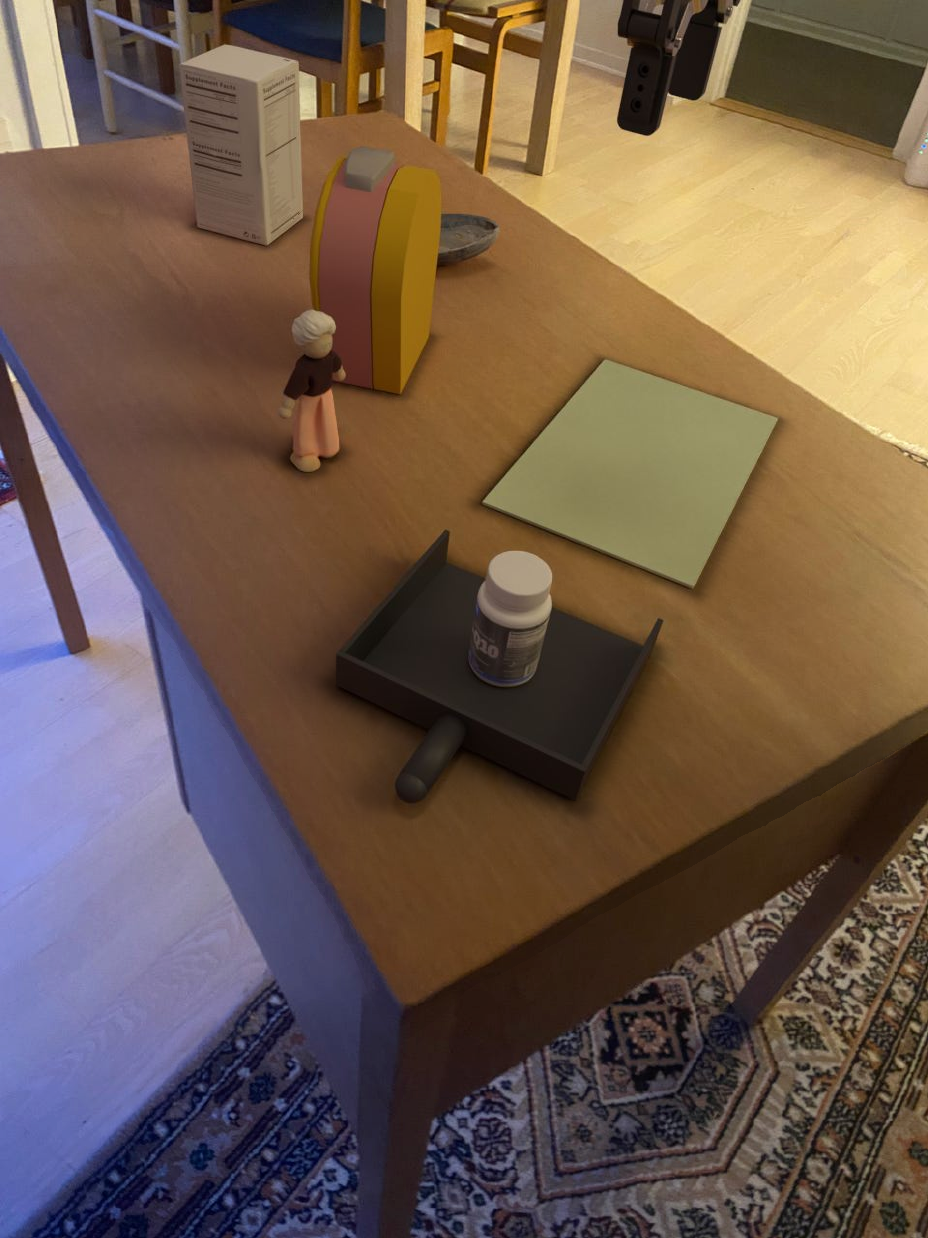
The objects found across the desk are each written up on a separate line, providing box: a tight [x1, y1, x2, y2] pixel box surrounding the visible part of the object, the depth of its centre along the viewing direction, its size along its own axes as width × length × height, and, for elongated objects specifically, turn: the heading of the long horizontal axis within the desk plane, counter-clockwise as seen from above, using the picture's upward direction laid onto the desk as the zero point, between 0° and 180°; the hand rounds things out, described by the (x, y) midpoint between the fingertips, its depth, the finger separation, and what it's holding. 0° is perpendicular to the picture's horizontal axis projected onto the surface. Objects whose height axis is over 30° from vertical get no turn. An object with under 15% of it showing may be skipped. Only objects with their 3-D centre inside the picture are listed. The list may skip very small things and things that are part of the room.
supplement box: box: [178, 44, 304, 247], centre depth 99 cm, size 10×9×17 cm
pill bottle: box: [468, 550, 553, 687], centre depth 57 cm, size 5×5×8 cm
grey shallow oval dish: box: [437, 213, 502, 266], centre depth 102 cm, size 15×12×5 cm
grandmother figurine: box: [277, 309, 346, 473], centre depth 71 cm, size 8×4×13 cm, turn 160°
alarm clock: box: [308, 146, 443, 395], centre depth 81 cm, size 15×8×18 cm, turn 168°
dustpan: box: [335, 529, 665, 805], centre depth 57 cm, size 20×17×3 cm
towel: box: [481, 358, 779, 590], centre depth 79 cm, size 28×18×1 cm, turn 153°
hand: (661, 112), depth 51 cm, fingers open, 8 cm apart
